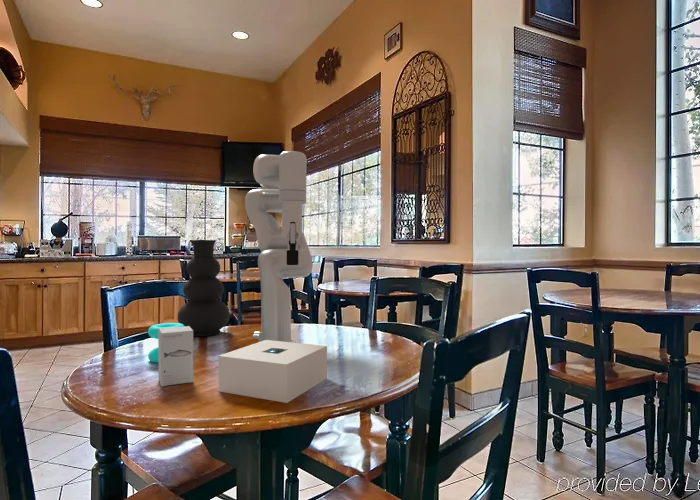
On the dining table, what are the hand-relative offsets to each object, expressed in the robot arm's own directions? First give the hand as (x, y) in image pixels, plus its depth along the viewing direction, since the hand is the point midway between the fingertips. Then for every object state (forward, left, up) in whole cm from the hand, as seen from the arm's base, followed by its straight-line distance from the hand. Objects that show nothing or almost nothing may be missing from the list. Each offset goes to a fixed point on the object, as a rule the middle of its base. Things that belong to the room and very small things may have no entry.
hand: (292, 264), depth 119 cm
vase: (-52, +22, -28) cm, 63 cm away
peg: (+6, -17, -27) cm, 33 cm away
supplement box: (-18, -24, -28) cm, 41 cm away
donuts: (-36, -10, -28) cm, 47 cm away
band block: (+6, -17, -27) cm, 33 cm away
